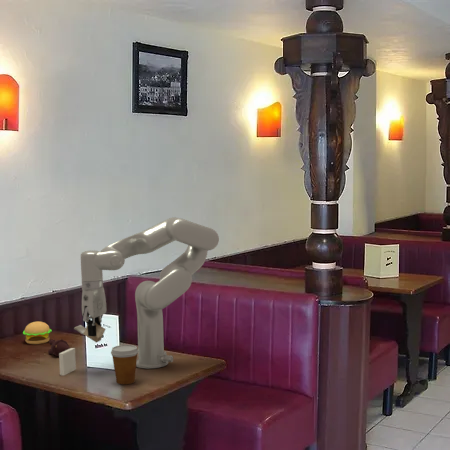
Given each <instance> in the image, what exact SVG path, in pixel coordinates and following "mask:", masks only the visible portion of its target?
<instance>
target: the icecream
mask: <svg viewBox="0 0 450 450" xmlns="http://www.w3.org/2000/svg"><path fill="white" fill-rule="evenodd" d="M48 342H49V343H48V344H49V345H50V346H51V347H50V349H48V354H49V355H54V356H56V357H58V358H59V353H61V352H64V351H66V350H68V349H70V348H71V347H70V345H69V344H68V342H67V341H66V340H64V339H57V340H55V339H49V341H48Z"/></svg>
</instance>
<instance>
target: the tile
mask: <svg viewBox="0 0 450 450" xmlns="http://www.w3.org/2000/svg"><path fill="white" fill-rule="evenodd" d="M58 360H59V361H58V362H59V363H58V364H59V376H63V377H64V376H66V375H68V374H70V373H72V372H74V371H75V370H76V369H77V366H76V365H77V363H76V360H77V359H76V348H75V347H70V349H68V350H66V351H64V352H61V353H59V357H58Z"/></svg>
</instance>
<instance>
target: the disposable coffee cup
mask: <svg viewBox="0 0 450 450" xmlns="http://www.w3.org/2000/svg"><path fill="white" fill-rule="evenodd" d="M110 355H111V356H112V361H113V362H112V363H113V368H114V374H115V381H116V383H117V384H118V385H131V384H133V383H135V381H136V371H137V369H136V368H137V367H136V362H137V359H138V346H136V345H134V344H121V345H115V346H113V347H112V348H111V351H110Z"/></svg>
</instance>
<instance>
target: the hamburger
mask: <svg viewBox="0 0 450 450" xmlns="http://www.w3.org/2000/svg"><path fill="white" fill-rule="evenodd" d="M50 333H52V329H51V328H50V326H49V325H48V324H47V323H46V322H43V321H41V320H40V321H33V322H30V323H28V324H27V325H26V326H25V328H24V330H23V332H22V334H23V335H25V343H27V344H28V345H42V344H45V343H48V342H49V341H50V340H51V338H50Z"/></svg>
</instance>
